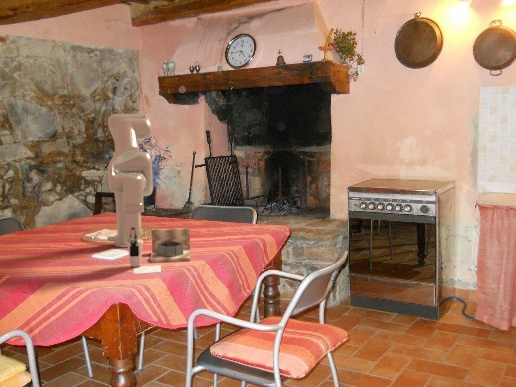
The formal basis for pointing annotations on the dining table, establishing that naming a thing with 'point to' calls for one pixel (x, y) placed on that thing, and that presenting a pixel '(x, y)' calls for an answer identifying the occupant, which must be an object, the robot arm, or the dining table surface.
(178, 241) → the holder
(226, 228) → the dining table surface
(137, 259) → the smoothie
